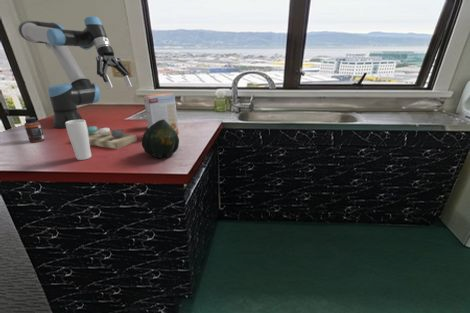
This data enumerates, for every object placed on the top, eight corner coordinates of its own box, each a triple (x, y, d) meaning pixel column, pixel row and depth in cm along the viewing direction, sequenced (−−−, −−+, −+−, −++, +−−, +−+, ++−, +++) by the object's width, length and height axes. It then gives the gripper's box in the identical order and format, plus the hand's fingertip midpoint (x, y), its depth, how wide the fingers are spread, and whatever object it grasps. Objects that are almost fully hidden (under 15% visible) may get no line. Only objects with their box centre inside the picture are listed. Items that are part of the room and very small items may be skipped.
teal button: (83, 132, 118) (82, 128, 117) (92, 129, 123) (91, 125, 122) (91, 133, 117) (90, 129, 116) (100, 130, 121) (99, 126, 120)
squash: (136, 151, 91) (160, 118, 91) (134, 140, 104) (155, 112, 104) (168, 169, 98) (190, 139, 98) (162, 158, 111) (182, 131, 111)
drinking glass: (79, 155, 102) (70, 119, 97) (96, 154, 103) (88, 119, 97) (71, 161, 96) (60, 123, 90) (89, 161, 96) (80, 123, 91)
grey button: (109, 136, 113) (108, 131, 112) (117, 133, 117) (116, 129, 116) (117, 137, 111) (116, 132, 110) (125, 134, 116) (125, 130, 115)
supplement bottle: (48, 139, 121) (41, 117, 117) (35, 143, 116) (27, 119, 112) (39, 138, 123) (32, 116, 119) (26, 142, 118) (18, 118, 114)
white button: (96, 134, 116) (95, 130, 115) (104, 131, 120) (104, 127, 119) (104, 135, 114) (103, 131, 113) (112, 132, 118) (112, 128, 117)
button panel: (75, 142, 118) (73, 135, 116) (96, 135, 128) (95, 129, 127) (117, 149, 109) (116, 142, 108) (136, 141, 119) (135, 134, 118)
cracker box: (172, 132, 134) (169, 92, 126) (179, 134, 130) (175, 93, 122) (148, 137, 125) (142, 95, 117) (154, 140, 121) (148, 96, 113)
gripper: (87, 41, 116) (106, 85, 120) (126, 48, 139) (141, 84, 142) (77, 48, 120) (96, 91, 123) (117, 53, 142) (132, 89, 145)
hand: (120, 87), depth 132 cm, fingers open, 13 cm apart
